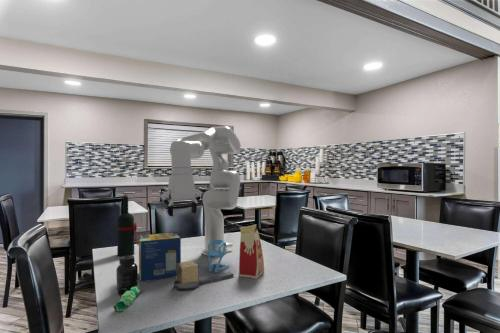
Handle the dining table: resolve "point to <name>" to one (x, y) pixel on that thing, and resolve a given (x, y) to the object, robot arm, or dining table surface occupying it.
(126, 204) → the wine bottle
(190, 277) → the brown parcel carton
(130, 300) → the candy
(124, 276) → the supplement bottle
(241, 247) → the milk carton
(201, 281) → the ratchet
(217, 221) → the robot arm
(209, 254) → the chair
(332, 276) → the dining table surface
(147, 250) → the protein box
